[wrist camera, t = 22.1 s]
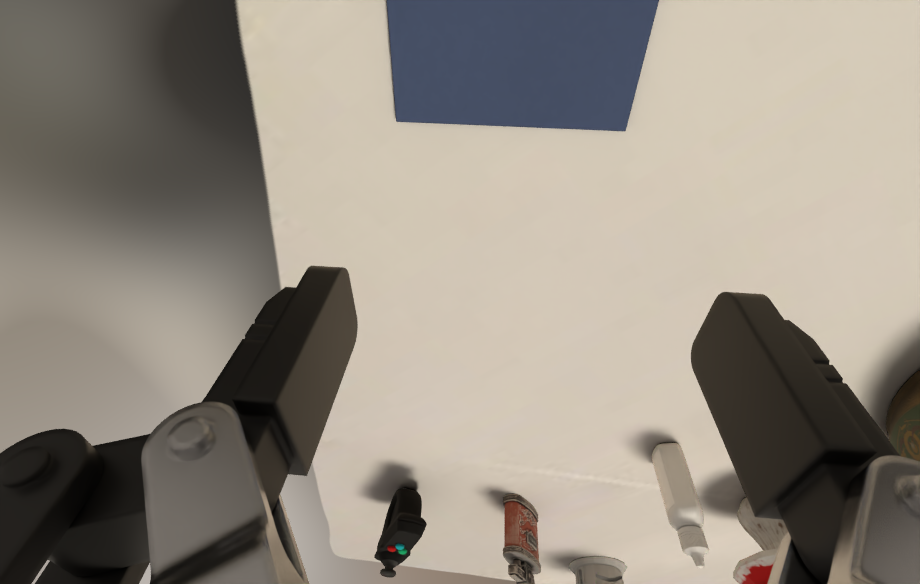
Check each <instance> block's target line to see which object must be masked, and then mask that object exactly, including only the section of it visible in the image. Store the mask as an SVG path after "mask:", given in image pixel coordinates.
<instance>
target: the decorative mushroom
mask: <svg viewBox="0 0 920 584" xmlns="http://www.w3.org/2000/svg"><path fill="white" fill-rule="evenodd" d="M737 517H738V519H739V522H740V524H741V525H742V526H743V528H744V529H745V530H746V531H747V532H748V533H749V535H750V536H751V537H752V538H753V539H754V540H755V541H756V542H757V543H758V544H759V545H760V547H761V548H762V549H763V550H764V551H761V552H758V553H756V554H754V555H752V556H749V557H747V558H745V559H743V560H740V561H739V562H738V564H737V566H736V568H735V570H734V572H733V578H734V579H735V580H736V581H737V582H738V583H739V584H767V583H768V580H769V577H770V574H771V570H772V567H773V564H774V561H775V557H776V554H777V551H778V548H779V544H780V542H781V539H782V538H783V536H784V535H785V534H786V533H788V530H787V527H786V525H785V523H784V521H783V520H781V519H770V518H758V517H755V516H754V513H753V511H752V509H751V506H750V504H749V501H748V499H747V497H746V498H744V499H743V500H742V502H741V504H740V507H739V511H738V515H737Z"/></svg>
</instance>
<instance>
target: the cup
mask: <svg viewBox="0 0 920 584" xmlns="http://www.w3.org/2000/svg"><path fill="white" fill-rule="evenodd" d="M886 429H887V432H888V434H889V441H890V443H891V444H892V446H893V447H894V448H895V450H896V451H897V452H898V454H899V455H900V456H902V457H906V458H910V459H913V460H916V461H919V462H920V370H919V371H917V372H916V373H915V374H914V375H913V376H912V377H911V378H910V379H909V380H908V381H907V382H906V383H905V384H904V385H903V386H902V388H901V389H900V390H899V391H898V393H897V394H896V396H895V397H894V399H893V401H892V403H891V405H890V407H889V410H888V414H887V419H886Z"/></svg>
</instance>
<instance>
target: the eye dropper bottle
mask: <svg viewBox="0 0 920 584" xmlns="http://www.w3.org/2000/svg"><path fill="white" fill-rule="evenodd" d="M652 461H653V465H654V469H655V472H656V476H657V480H658V483H659V487H660V491H661V494H662V498H663V502H664V505H665V509H666V513H667V516H668V520H669V522H670V524H671V526H672V527H673V528H674V529H675V530H676V531H677V532H678V536H679V539H680V543H681V547H682V550H683V553H685V554H686V555H689V556H691V557H692V558H693V560H694V562H695V564H696V566H697V568H704V567H705V566H704V558H703V557H704V555H705V554H707V553H708V552H709V548H708V545H707V542H706V539H705V536H704V533H703V530H702V529H701V528H702V526H703V522H704V515H703V511H702V508H701V505H700V502H699V499H698V496H697V493H696V490H695V487H694V484H693V481H692V478H691V475H690V472H689V469H688V466H687V463H686V460H685V457H684V454H683V451H682V449H681V447H680V446H679V445H678V444H677V443H664V444H659V445H657V446H656V447H655V449H654V451H653V453H652Z"/></svg>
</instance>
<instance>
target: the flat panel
mask: <svg viewBox="0 0 920 584" xmlns="http://www.w3.org/2000/svg"><path fill="white" fill-rule="evenodd" d="M658 2H659V0H387V11H388V23H389V36H390V49H391V61H392V74H393V86H394V99H395V112H396V121H397V122H417V123H441V124H465V125H489V126H512V127H536V128H560V129H584V130H608V131H626V127H627V123H628V119H629V115H630V111H631V108H632V104H633V100H634V96H635V92H636V88H637V84H638V80H639V76H640V72H641V68H642V64H643V61H644V57H645V53H646V49H647V45H648V41H649V37H650V33H651V29H652V25H653V21H654V18H655V14H656V10H657V6H658Z"/></svg>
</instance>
